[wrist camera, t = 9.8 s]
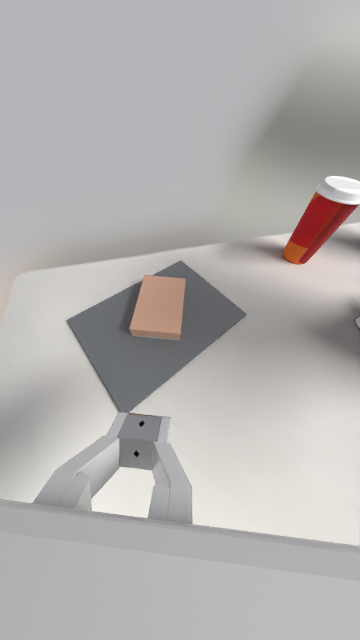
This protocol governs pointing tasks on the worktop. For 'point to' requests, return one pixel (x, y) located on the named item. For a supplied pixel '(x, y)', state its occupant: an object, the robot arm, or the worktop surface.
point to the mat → (150, 353)
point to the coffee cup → (322, 217)
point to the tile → (159, 308)
